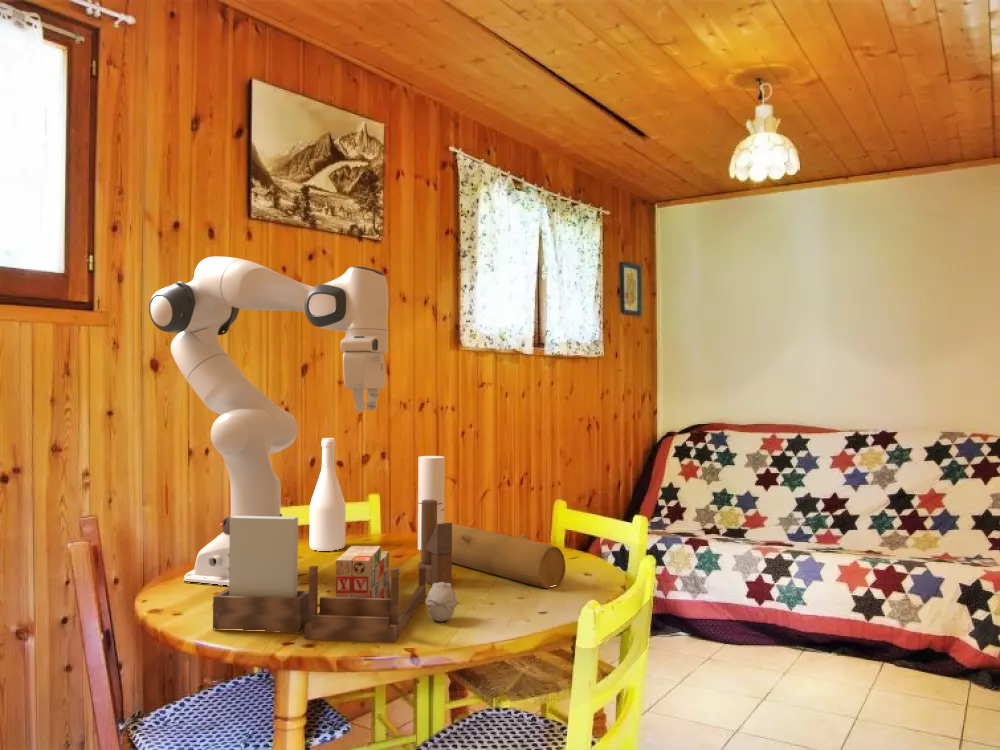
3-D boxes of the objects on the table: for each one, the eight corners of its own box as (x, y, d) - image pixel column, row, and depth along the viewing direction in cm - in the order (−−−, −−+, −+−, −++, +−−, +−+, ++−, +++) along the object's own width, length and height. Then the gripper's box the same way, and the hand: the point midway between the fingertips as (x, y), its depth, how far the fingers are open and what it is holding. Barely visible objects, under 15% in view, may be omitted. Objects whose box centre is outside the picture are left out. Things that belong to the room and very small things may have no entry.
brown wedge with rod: (437, 588, 168) (437, 506, 168) (417, 577, 177) (418, 499, 177) (452, 586, 169) (452, 505, 170) (432, 575, 179) (433, 498, 179)
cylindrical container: (412, 548, 209) (413, 456, 209) (433, 544, 214) (433, 455, 214) (428, 552, 204) (429, 458, 204) (449, 549, 208) (450, 457, 209)
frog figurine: (458, 615, 148) (458, 578, 148) (455, 626, 141) (456, 588, 141) (427, 614, 148) (427, 578, 148) (422, 625, 141) (423, 588, 141)
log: (429, 562, 194) (429, 522, 194) (458, 556, 200) (458, 518, 200) (536, 593, 165) (536, 546, 165) (566, 585, 172) (566, 541, 172)
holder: (212, 630, 138) (213, 596, 138) (227, 620, 144) (227, 588, 144) (300, 632, 137) (300, 599, 137) (311, 622, 143) (311, 590, 143)
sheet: (228, 627, 140) (229, 517, 140) (234, 623, 142) (235, 515, 143) (292, 629, 139) (293, 519, 139) (297, 625, 141) (298, 516, 142)
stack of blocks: (360, 594, 163) (361, 536, 163) (389, 594, 163) (390, 536, 163) (334, 625, 142) (335, 558, 142) (368, 626, 142) (368, 559, 142)
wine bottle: (349, 545, 212) (350, 437, 213) (338, 553, 203) (339, 439, 203) (316, 544, 213) (317, 437, 214) (304, 551, 204) (305, 439, 204)
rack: (304, 639, 134) (305, 570, 134) (351, 593, 163) (352, 537, 163) (394, 642, 132) (395, 572, 132) (425, 595, 162) (426, 538, 162)
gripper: (364, 347, 170) (364, 409, 169) (337, 341, 149) (336, 412, 149) (392, 347, 169) (392, 409, 169) (369, 341, 149) (368, 412, 149)
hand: (366, 411), depth 159 cm, fingers open, 8 cm apart
